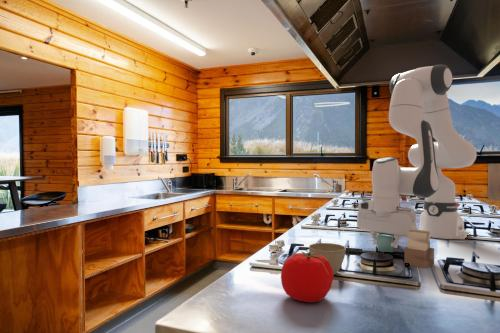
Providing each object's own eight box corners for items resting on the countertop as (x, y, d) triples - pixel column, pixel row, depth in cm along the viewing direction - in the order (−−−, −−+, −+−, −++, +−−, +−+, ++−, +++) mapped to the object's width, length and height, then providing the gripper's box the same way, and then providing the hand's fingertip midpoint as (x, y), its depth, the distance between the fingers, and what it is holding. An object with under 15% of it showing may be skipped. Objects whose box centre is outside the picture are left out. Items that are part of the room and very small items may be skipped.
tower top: (412, 245, 109) (412, 229, 108) (429, 247, 105) (430, 231, 105) (407, 248, 105) (407, 231, 105) (425, 251, 101) (425, 233, 101)
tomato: (297, 313, 71) (298, 262, 71) (271, 293, 82) (272, 249, 81) (345, 303, 76) (345, 256, 76) (315, 286, 86) (315, 244, 86)
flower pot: (346, 269, 100) (347, 244, 100) (344, 280, 91) (344, 252, 90) (311, 265, 103) (311, 241, 103) (305, 276, 94) (305, 249, 94)
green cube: (382, 248, 123) (382, 233, 123) (396, 251, 119) (396, 236, 119) (374, 250, 120) (374, 235, 120) (388, 253, 116) (388, 238, 116)
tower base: (414, 260, 109) (414, 244, 109) (433, 265, 105) (434, 248, 105) (404, 264, 106) (404, 247, 106) (424, 268, 101) (424, 251, 101)
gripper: (420, 207, 113) (420, 250, 113) (364, 201, 129) (364, 239, 129) (410, 209, 109) (410, 253, 109) (354, 203, 125) (354, 241, 125)
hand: (385, 245), depth 119 cm, fingers closed on green cube, 5 cm apart
